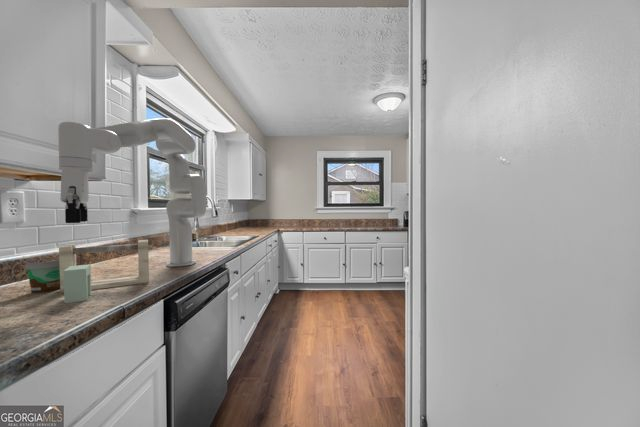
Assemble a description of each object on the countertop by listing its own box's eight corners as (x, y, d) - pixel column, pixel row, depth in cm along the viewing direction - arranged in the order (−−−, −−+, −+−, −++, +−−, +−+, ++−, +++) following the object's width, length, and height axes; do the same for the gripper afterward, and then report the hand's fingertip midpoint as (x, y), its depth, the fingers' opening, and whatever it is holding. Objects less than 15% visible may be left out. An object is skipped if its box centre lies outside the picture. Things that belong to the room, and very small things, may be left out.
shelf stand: (65, 288, 93) (64, 244, 92) (148, 278, 106) (148, 239, 105) (60, 293, 88) (58, 247, 87) (148, 282, 100) (147, 241, 100)
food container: (40, 295, 86) (39, 263, 86) (25, 294, 88) (24, 263, 87) (81, 284, 99) (80, 256, 98) (68, 283, 100) (67, 255, 99)
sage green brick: (70, 296, 85) (69, 266, 85) (91, 293, 88) (90, 264, 87) (64, 303, 79) (63, 270, 79) (87, 300, 82) (86, 268, 81)
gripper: (67, 168, 88) (68, 221, 88) (49, 159, 73) (51, 224, 73) (97, 169, 92) (97, 220, 92) (86, 162, 77) (87, 223, 77)
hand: (77, 222), depth 83 cm, fingers open, 9 cm apart
